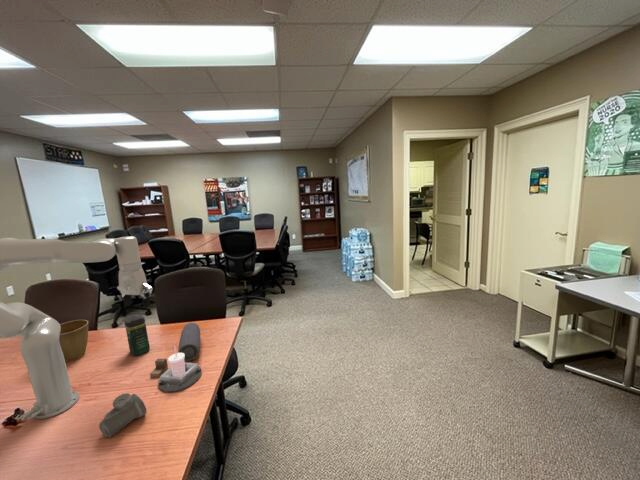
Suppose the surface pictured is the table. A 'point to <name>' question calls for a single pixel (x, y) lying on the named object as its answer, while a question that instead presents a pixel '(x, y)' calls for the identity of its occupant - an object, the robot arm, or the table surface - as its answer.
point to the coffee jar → (137, 334)
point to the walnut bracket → (159, 368)
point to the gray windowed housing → (180, 378)
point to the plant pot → (74, 339)
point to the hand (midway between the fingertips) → (137, 305)
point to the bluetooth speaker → (190, 341)
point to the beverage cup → (177, 363)
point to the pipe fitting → (122, 413)
